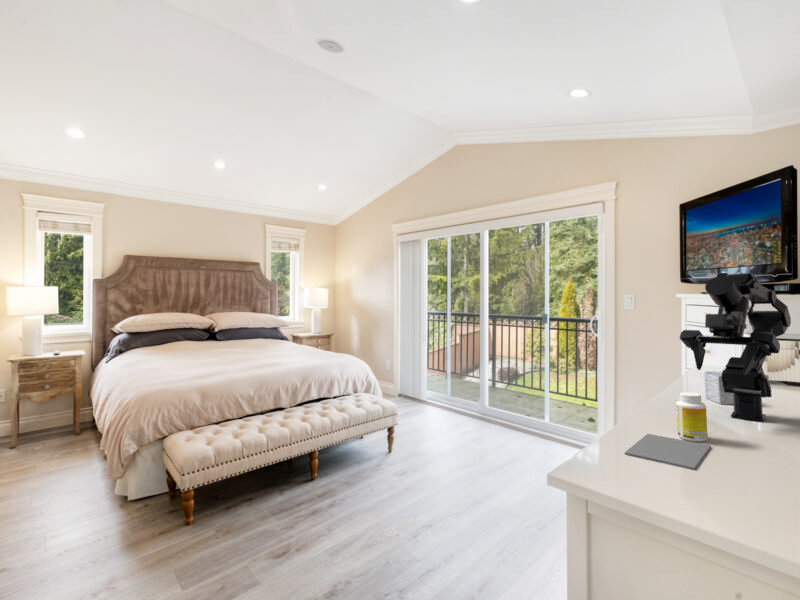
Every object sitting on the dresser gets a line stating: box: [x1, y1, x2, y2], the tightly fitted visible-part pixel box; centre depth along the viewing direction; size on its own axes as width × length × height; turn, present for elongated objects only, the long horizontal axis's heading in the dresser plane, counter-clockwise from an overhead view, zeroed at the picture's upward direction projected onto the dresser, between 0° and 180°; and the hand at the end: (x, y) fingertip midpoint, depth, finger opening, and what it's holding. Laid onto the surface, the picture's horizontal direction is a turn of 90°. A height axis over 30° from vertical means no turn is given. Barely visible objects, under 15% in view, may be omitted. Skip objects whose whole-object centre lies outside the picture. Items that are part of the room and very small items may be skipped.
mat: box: [624, 433, 712, 471], centre depth 85 cm, size 16×12×1 cm
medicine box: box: [704, 370, 734, 405], centre depth 123 cm, size 8×4×9 cm, turn 168°
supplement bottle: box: [675, 391, 709, 443], centre depth 92 cm, size 6×6×10 cm
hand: (720, 371), depth 97 cm, fingers open, 9 cm apart
